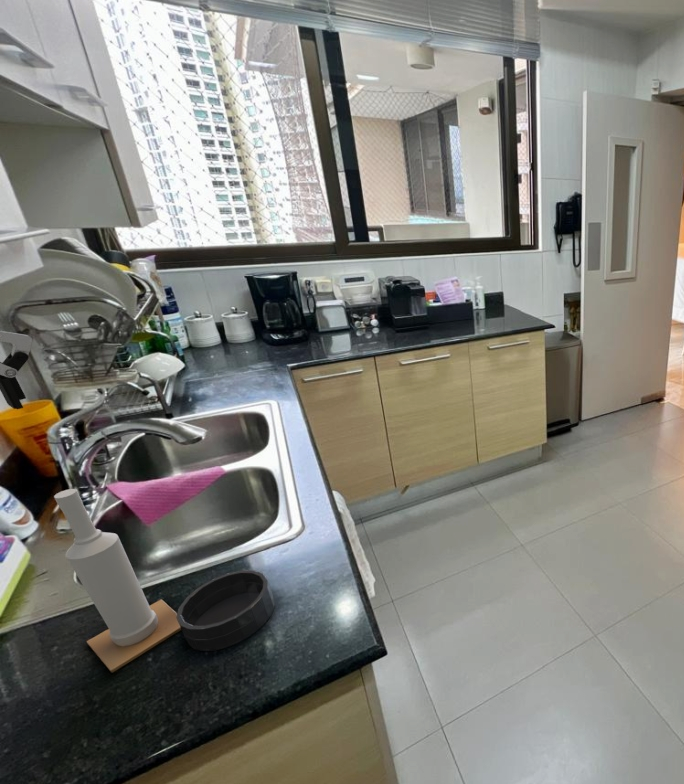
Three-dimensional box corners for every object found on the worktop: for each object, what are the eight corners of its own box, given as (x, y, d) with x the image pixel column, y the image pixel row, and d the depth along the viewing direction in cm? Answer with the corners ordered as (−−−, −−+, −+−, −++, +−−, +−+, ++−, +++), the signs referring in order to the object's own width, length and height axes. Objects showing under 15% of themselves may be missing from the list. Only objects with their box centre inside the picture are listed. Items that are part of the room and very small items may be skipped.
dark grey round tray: (172, 630, 71) (161, 608, 69) (252, 580, 80) (244, 560, 78) (208, 665, 66) (198, 642, 64) (289, 608, 75) (282, 587, 73)
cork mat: (87, 643, 68) (86, 641, 68) (162, 601, 76) (161, 599, 75) (112, 673, 64) (110, 670, 64) (188, 625, 71) (187, 622, 71)
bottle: (105, 640, 68) (26, 500, 59) (147, 613, 73) (80, 478, 63) (126, 652, 67) (48, 509, 57) (167, 624, 71) (102, 487, 61)
